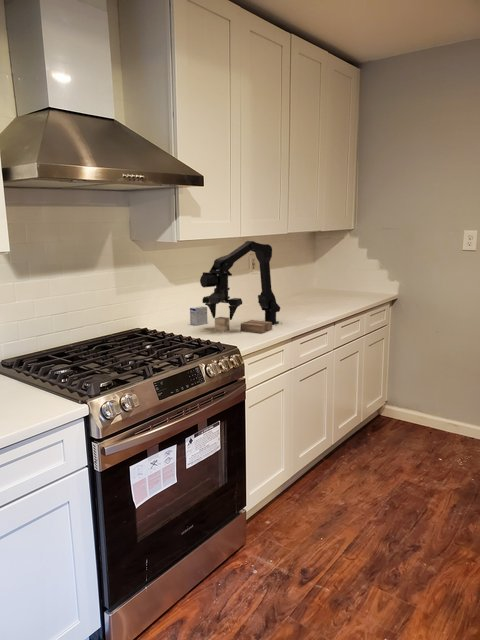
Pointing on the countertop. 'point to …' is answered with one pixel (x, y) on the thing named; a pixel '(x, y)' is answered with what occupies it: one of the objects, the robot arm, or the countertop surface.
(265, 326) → the walnut block
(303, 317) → the countertop surface
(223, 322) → the maple block
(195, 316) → the box
